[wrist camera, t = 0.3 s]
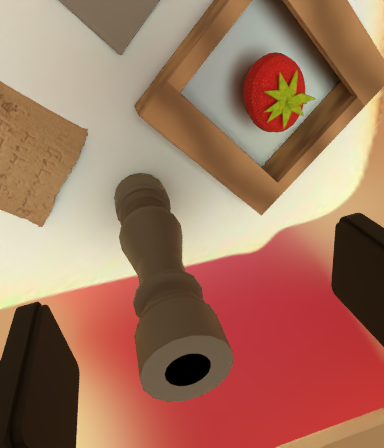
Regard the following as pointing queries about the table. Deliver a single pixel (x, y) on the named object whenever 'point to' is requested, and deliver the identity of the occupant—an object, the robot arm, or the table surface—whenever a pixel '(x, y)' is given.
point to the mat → (113, 18)
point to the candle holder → (168, 299)
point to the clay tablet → (33, 155)
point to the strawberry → (274, 92)
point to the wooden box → (303, 136)
